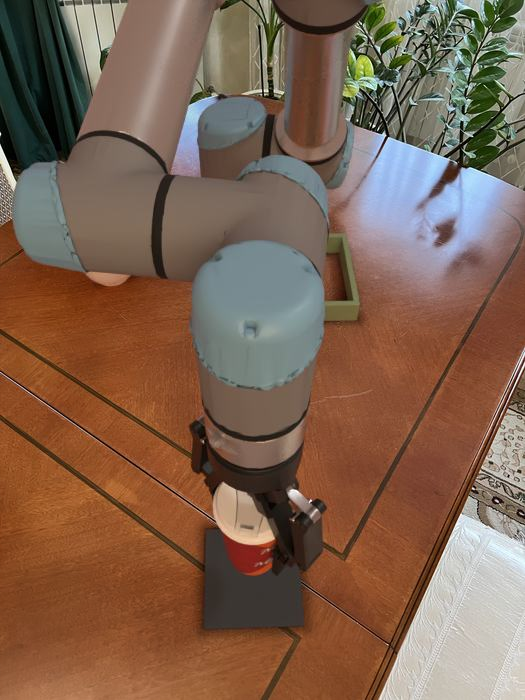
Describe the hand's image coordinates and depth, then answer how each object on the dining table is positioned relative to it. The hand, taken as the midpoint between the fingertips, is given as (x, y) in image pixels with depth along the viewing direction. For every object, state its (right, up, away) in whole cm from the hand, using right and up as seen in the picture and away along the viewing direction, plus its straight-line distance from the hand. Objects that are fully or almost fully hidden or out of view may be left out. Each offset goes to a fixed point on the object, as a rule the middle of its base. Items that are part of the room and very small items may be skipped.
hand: (253, 536), depth 61 cm
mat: (0, -9, +11) cm, 14 cm away
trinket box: (-26, +33, +44) cm, 61 cm away
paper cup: (0, -3, +3) cm, 4 cm away
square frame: (+8, +32, +43) cm, 54 cm away
